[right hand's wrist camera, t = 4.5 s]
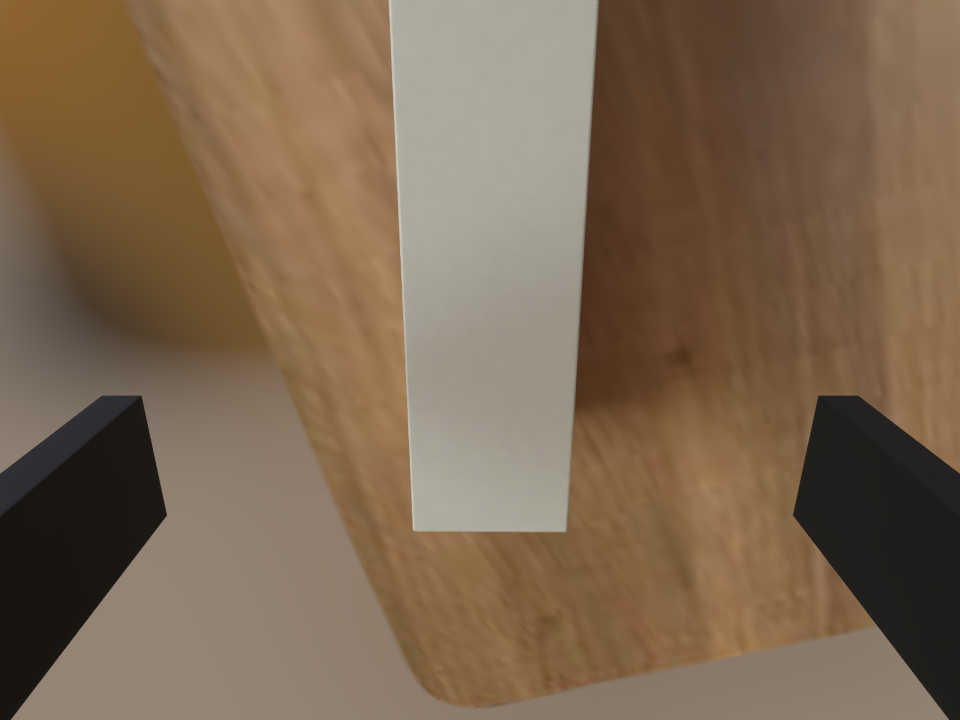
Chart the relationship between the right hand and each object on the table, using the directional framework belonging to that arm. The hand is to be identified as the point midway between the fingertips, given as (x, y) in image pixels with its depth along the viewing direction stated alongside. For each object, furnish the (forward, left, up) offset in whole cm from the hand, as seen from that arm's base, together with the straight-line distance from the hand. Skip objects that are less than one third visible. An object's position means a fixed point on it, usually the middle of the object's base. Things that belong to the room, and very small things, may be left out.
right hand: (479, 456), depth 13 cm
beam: (+20, -5, -12) cm, 24 cm away
